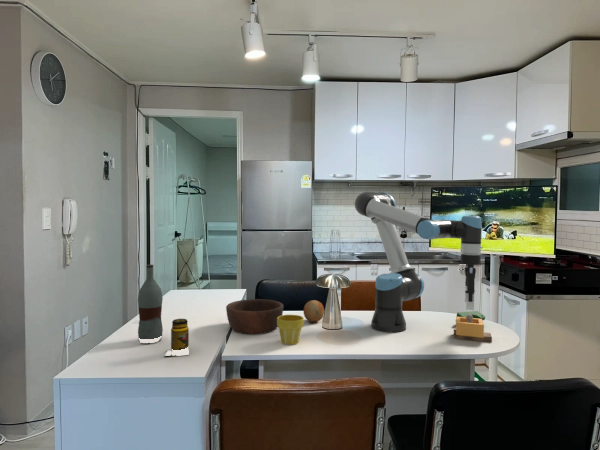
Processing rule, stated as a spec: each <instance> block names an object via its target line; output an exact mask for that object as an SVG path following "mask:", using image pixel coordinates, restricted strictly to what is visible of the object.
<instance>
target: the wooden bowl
mask: <svg viewBox="0 0 600 450" xmlns="http://www.w3.org/2000/svg"><path fill="white" fill-rule="evenodd" d="M225 309H226V310H225V311H226V316H227V320H228V324H229V326H230V328H231V329H232V330H233V331H234V332H236V333H239V334H247V335H258V334H261V335H262V334H267V333H270V332H273V331H275V330H277V329H279V327H277V317H278V316H281V315H284V314H283V313H284V303H282V302H280V301H278V300H273V299H260V298H253V299H250V298H249V299H241V300H236V301H231V302H230V303H228V304H227V305H226V307H225Z"/></svg>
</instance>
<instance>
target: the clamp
mask: <svg viewBox="0 0 600 450" xmlns="http://www.w3.org/2000/svg"><path fill="white" fill-rule="evenodd" d="M468 314H471V315H472V316H473V318H478V319H482V321H485V319H486V315H484V314H483V313H481V312H480V311H478V310H470V311H462V312H461V311H459V312H457V313H456V316H455V318H456V317H466V316H467V315H468Z"/></svg>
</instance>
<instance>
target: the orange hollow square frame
mask: <svg viewBox="0 0 600 450" xmlns="http://www.w3.org/2000/svg"><path fill="white" fill-rule="evenodd" d="M484 325H485V324H484V320H482V319H478V318H473V320H472V323H467V318H466V317H456V316H455V330H456V335H462V336H472V337H482V338H484V332H485V331H484V330H485V329H484V328H485V326H484Z"/></svg>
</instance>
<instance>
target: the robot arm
mask: <svg viewBox="0 0 600 450" xmlns="http://www.w3.org/2000/svg"><path fill="white" fill-rule="evenodd" d="M354 208H355V210H356V212H357V213H358V214H359V215H361V216H364V217H366V218H370V220H371V223H372V224H375V225H376V228H377V231H378V234H379V237H380V240H381V243H382V246H383V249H384V252H385V254H386V258H387V261H388V264H389V267H390V269H391V272H390V273H382V274H379V275H377V276H376V278H375V285H374V287H375V289H374V290H375V301H374V302H375V303H374V305H375V309H374V312H373V315H372V319H371V321H370V322H371V325H370V327H371V328H372V329H373V330H376V331H380V332H385V333H386V332H387V333H397V332H403V331H405V330H407V322H406V320H405V316H404V313H403V302H406V301H412V300H415V299H417V298H419V297H421V295H422V294H423V292H424V290H425V282H424V280H423V277H422V276H421V275H419V274H418V273H416V270H415V268H414V267H413V266H411V264H410V263H409V261H408V257H407V255H406V252H405V250H404V246H403V244H402V241H401V237H400V235H399V233H398V228H397V227H399V228H402V229H403V230H406V231H409V232H412V233H414V234H417V235H418V236H419V237H420V238H422V239H424V240H436V239H438V240H439V239H460V253H461V254H460V263H461V264H463V265H465V267H464V277H465V282H464V283H465V287H464V293H465V294H464V302H465V304H466V306H465V309H466V310H469V311H475V310H474V309H475V292H476V290H475V280H476V272H477V271H476V267H475V265H480V264H481V263H482V261H481V260H482V257H481V253H482V252H481V251H482V249H483V246H482V228H483V226H482V225H483V224H482V217H480V216H478V215H477V216H476V215H463V216H462V217H461V220H450V219H437V220H436V219H435V220H434V219H431V218H428V217H426V216H423V215H420V214H417V213H414V212H410V211H408V210H404V209H403V208H400V207H397V205H396V201H395V198H394V197H393V196H392V195H391V194H389V193H387V192H382V191H380V192H379V191H378V192H377V191H376V192H375V191H364V192H361V193H359V194H358V195H357V196H356V198H355V200H354Z"/></svg>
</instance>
